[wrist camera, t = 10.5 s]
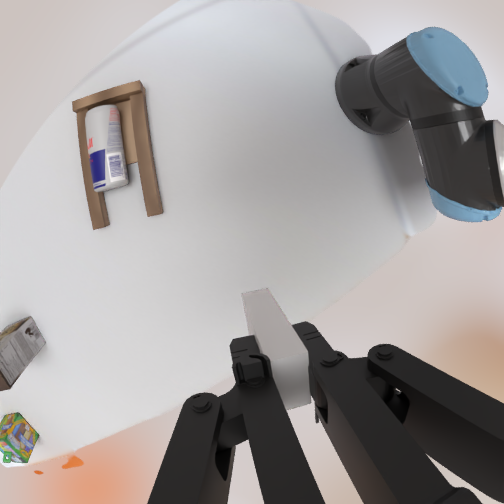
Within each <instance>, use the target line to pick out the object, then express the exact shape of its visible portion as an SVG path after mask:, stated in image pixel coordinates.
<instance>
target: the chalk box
mask: <svg viewBox="0 0 504 504" xmlns="http://www.w3.org/2000/svg"><path fill="white" fill-rule="evenodd" d="M38 437H39V434H38V433H37V432H36V431H35V430H34V429H33V428H32V427H31V426H30V425H29V424H28V423H27V422H26V421H25V420H24V419H23V417H22V416H21V415H20V414H19V413H15V414H10V415H5V416H4V418H3V419H2V421H1V423H0V451H1V452H2V453H3V454H4V457H3V462H4V463H10V462H11V461H12V462H17V463H28V460H29V458H30V455H31V453H32V451H33V448H34V446H35V444H36V441H37V439H38ZM6 456H7V457H8V458H9V459H6Z"/></svg>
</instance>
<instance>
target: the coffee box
mask: <svg viewBox="0 0 504 504" xmlns="http://www.w3.org/2000/svg"><path fill="white" fill-rule="evenodd" d="M45 343H46V342H45V340H44V339H43V337H42V335H41V333H40V331H39V330H38V328H37V326H36V324H35V322H34V320H33V319H32V317H31V316H30V317H28V318H25V319H23V320H21V321H18V322H16V323H14V324H12V325H9V326H7V327H6V328H5V329H4V330H3V331H2V332H1V333H0V391H3V390H8V389H11V387H12V386H13V384H14V383H15V382H16V380H17V379H18V378H19V376H20V375H21V374H22V372H23V371H24V370H25V368H26V367H27V366H28V364H29V363H30V362H31V361H32V359H33V358H34V357H35V355H36V354H37V353H38V352H39V351H40V349H41V348H42V347H43V346H44V344H45Z"/></svg>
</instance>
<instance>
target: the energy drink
mask: <svg viewBox="0 0 504 504" xmlns="http://www.w3.org/2000/svg"><path fill="white" fill-rule="evenodd" d="M85 126H86V137H87V146H88V154H89V161H90V168H91V175H92V181H93V187H94V191H96V192H102V191H106V190H111V189H114V188H118V187H122V186H125V185H127V184H128V182H129V179H128V174H127V168H126V161H125V155H124V148H123V140H122V132H121V124H120V115H119V111H118V109H117V106H115V105H103V106H98V107H95V108H93V109H91V110H89V111H88V112H87V113H86V117H85Z"/></svg>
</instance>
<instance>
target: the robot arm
mask: <svg viewBox="0 0 504 504" xmlns="http://www.w3.org/2000/svg"><path fill="white" fill-rule="evenodd" d="M335 86H336V94H337V98H338V101H339V104H340V106H341V108H342V109H343V111H344V113H345V114H346V115H347V117H348V118H349V119H350V120H351V121H352V122H353V123H354V124H355V125H356V126H358V127H359V128H360V129H362V130H364V131H366V132H368V133H371V134H376V135H383V134H388V133H392V132H395V131H397V130H399V129H400V128H402V127H403V126H404V125H405V124H406V123H407V122H408V121H409V120H410V122H411V125H412V128H413V132H414V135H415V138H416V142H417V145H418V149H419V152H420V156H421V160H422V164H423V168H424V172H425V176H426V179H425V181H426V184H427V186H428V188H429V191H430V195H431V199H432V203H433V205H434V206H435V208H436V209H437V210H439V212H441V213H442V214H443V215H445V216H447V217H449V218H452V219H455V220H459V221H465V222H481V221H482V220H486V221H489V220H492V219H494V218H496V217H497V216H499V214H500V212H501V209H502V207H504V125H503V124H501V123H500V122H499V121H498V120H488V121H486V120H485V118H484V115H483V112H482V108H481V106H482V104H483V103H485V101H486V100H487V98H488V90H487V87H488V83H487V79H486V76H485V73H484V71H483V69H482V67H481V65H480V63H479V61H478V60H477V58H476V57H475V55H474V54H473V52H472V51H471V50H470V49H469V47H468V46H467V45H466V44H465V43H464V42H462V41H461V40H460V39H459V38H458V37H457V36H455V35H454V34H453V33H451V32H449V31H447V30H445V29H442V28H438V27H428V28H425V29H423V30H421V31H419V32H414V33H411V34H410V35H408V36H407V37H406V38H404V39H403V40H401V41H399V42H398V43H396V44H394V45H392V46H391V47H389V48H388V49H386V50H384V51H383V52H381V53H380V54H378V55H366V56H359V57H356V58H353V59H351V60H350V61H348V62H347V63H346V64H344V65H343V66H342V67H341V69H340V70H339V72H338V74H337V77H336V85H335ZM242 299H243V305H244V310H245V315H246V320H247V325H248V331H249V336H245V337H241V338H236V339H233V340H232V342H231V344H230V350H231V356H232V361H233V365H232V369H233V373H234V377H235V380H236V383H235V386H234V387H233V388H232V389H231V390H230V391H229V392H227V393H226V394H224V395H221V396H219V397H217V396H216V395H214V394H212V393H198V394H195V395H193V396H191V397H190V398H188V399H187V400H186V401H185V403H184V404H183V407H182V409H181V412H180V415H179V418H178V420H177V423H176V426H175V428H174V431H173V434H172V437H171V439H170V442H169V445H168V448H167V450H166V453H165V456H164V459H163V461H162V464H161V467H160V470H159V472H158V475H157V478H156V481H155V484H154V486H153V489H152V492H151V495H150V498H149V500H148V503H147V504H227V502H228V495H229V488H230V482H231V476H232V469H233V462H234V456H235V449H236V447H235V445H238V444H240V443H242V442H244V441H246V440H248V439H249V444H250V448H251V452H252V456H253V460H254V464H255V468H256V473H257V477H258V480H259V485H260V488H261V492H262V496H263V500H264V504H325V502H324V500H323V497H322V495H321V493H320V490H319V488H318V486H317V483H316V481H315V479H314V476H313V474H312V472H311V469H310V467H309V464H308V462H307V460H306V457H305V455H304V453H303V450H302V448H301V445H300V443H299V440H298V438H297V436H296V433H295V431H294V428H293V426H292V423H291V421H290V418H289V416H288V413H287V411H286V410H289V409H293V408H297V407H300V406H304V405H307V404H310V403H311V396H312V398H313V399H314V401H315V419H316V423H318V422H319V419H320V421H321V423H322V425H323V427H324V429H325V431H326V433H327V435H328V436H329V438H330V440H331V442H332V444H333V446H334V448H335V450H336V452H337V454H338V456H339V458H340V460H341V462H342V463H343V465H344V467H345V469H346V471H347V473H348V475H349V477H350V479H351V481H352V482H353V484H354V486H355V488H356V490H357V492H358V494H359V496H360V497H361V499H362V501H363V503H364V504H482V503H481V502H480V500H479V499H478V498H477V497H476V496H475V494H474V493H473V492H471V491H470V490H469V489H467V488H464V487H458V488H457V487H456V488H455V487H453V486H452V485H450V484H449V482H448V481H447V480H446V479H445V478H444V476H443V475H442V474H441V472H440V471H439V470H438V469H437V467H436V466H435V465H434V464H433V463H432V461H431V460H430V459H429V458H428V456H427V455H429V456H430V457H432V458H433V459H434V460H435V461H437V462H438V463H440V464H441V465H442V466H444V467H445V468H447V469H448V470H450V471H451V472H453V473H454V474H455V475H457V476H459V477H460V478H462V479H463V480H464V481H466V482H467V483H469V484H471V485H472V486H473V487H475V488H476V489H478V490H479V491H481V492H483V493H484V494H486V495H487V496H489V497H491V498H493V499H494V500H496V501H498V502H501V503H504V403H502V402H500V401H498V400H496V399H494V398H492V397H490V396H488V395H486V394H485V393H483V392H481V391H479V390H477V389H475V388H473V387H471V386H469V385H467V384H465V383H463V382H462V381H460V380H458V379H456V378H454V377H452V376H450V375H448V374H447V373H445V372H443V371H441V370H439V369H437V368H435V367H433V366H432V365H430V364H428V363H426V362H424V361H422V360H420V359H418V358H417V357H415V356H413V355H411V354H409V353H407V352H406V351H404V350H402V349H400V348H398V347H396V346H394V345H391V344H380V345H377V346H374V347H372V348H371V349H370V350H369V352H368V357H362V358H348V357H347V356H346V355H345V354H344V353H342V352H339V351H334V350H333V349H332V348H331V346H330V345H329V344H328V343H327V341H326V340H325V339H324V337H323V336H322V335H321V334H320V332H318V330H317V328H316V327H315V326H314V325H313V324H311V323H309V322H306V321H305V322H301V323H297V324H293V325H291V324H290V322H289V321H288V319H287V317H286V316H285V314H284V313H283V311H282V309H281V308H280V306H279V305H278V303H277V302H276V300H275V298H274V297H273V295H272V294H271V292H270V290H269V289H268V288H266V289H261V290H256V291H252V292H247V293H242ZM396 388H397V389H398V390H400V391H401V392H399V391H397V390H396ZM425 453H426V454H427V455H426V454H425Z"/></svg>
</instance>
